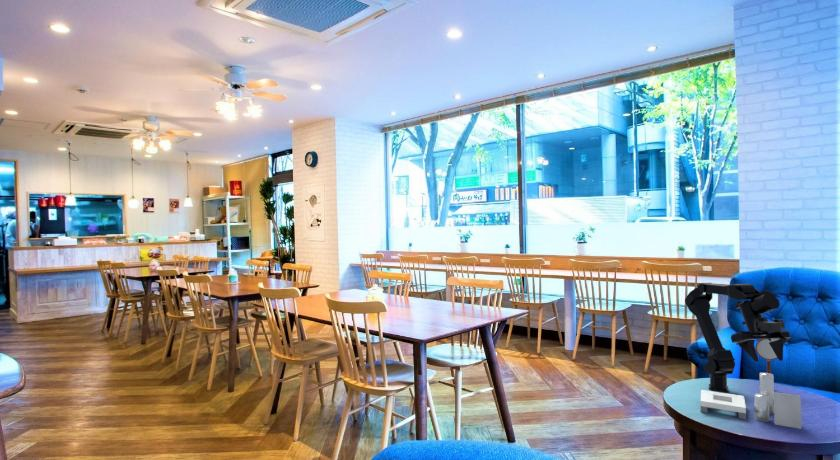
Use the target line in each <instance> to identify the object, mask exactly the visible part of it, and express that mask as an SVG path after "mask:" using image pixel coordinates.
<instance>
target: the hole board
mask: <svg viewBox="0 0 840 460" xmlns="http://www.w3.org/2000/svg"><path fill="white" fill-rule="evenodd" d="M708 408H709V409H716V410H717V409H718V410H723V411H724V410H725V411H729V412H734V413H735V412H736V413H737V415H738V419H741V420H747V406H746V401H745V396H744V395H739V394H733V393H728V392H727V393H726V392H721V391H714V390H705V389H701V390H700V413H708V411H709V410H708Z"/></svg>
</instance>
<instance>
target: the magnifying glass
mask: <svg viewBox="0 0 840 460" xmlns="http://www.w3.org/2000/svg"><path fill="white" fill-rule="evenodd" d="M769 342H772V341H769V340H768V339H758V341H757V342H755V343H756V344H755V345H754V347H755V350H756V353H757V356H759V357H760V358H762V359H764V360H766V373H770V374H772V373H771V372H772V371H771V369H772V368H771V365H772V364H771V361H774V360H777V359H778V358H777V356H776V355H775V353H774V351H773V349H772V348H771V346H770V344H769Z"/></svg>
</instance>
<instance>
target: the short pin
mask: <svg viewBox="0 0 840 460" xmlns="http://www.w3.org/2000/svg"><path fill="white" fill-rule="evenodd" d="M753 395H754V398H753V399H754V419H755V420H756V421H758V422H763V423H769V422H770V414H769V396H768V395H765V394H760V393H759V392H757V393H754V394H753Z"/></svg>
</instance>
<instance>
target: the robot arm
mask: <svg viewBox="0 0 840 460" xmlns="http://www.w3.org/2000/svg"><path fill="white" fill-rule="evenodd" d="M713 294H715V295H723V296H727V297H729V298H730V299H733V300H736V301H737V302H736V304H735V305H734V309H736V310H737V309H740V312H741V315H742V318H743V322H742V323H741V324H742V325H743V326H745V327H746V328H747V331H746V330H745V331H738V332H736V333H732V334H731V336H730V340H731V343H732V344H736V346H739V347H740V348H741V349H742V350H743V351H744V352H745V353H746V354H747V355H748V356H749V357H750V358H751V359H752V360H753V361H754V362H756V363H758V362H759V361H760V360H759V357H758V356H759V355H758V354H757V352H756V349H755V343H756V342H755V341H756V340H761V339H768V340H769V341H772V342H769V344H770V346H771V348H772V349H773V351H774V353H775V355H776V356H777V359H778V360H779V362H782V361H783V360H784V344H785V343H786V342H787V341H788V340H789V339H791V334H790V332H789V331H788V330H786V329H785V328H786V326H785V323H784V320H783V318H782V319H781V318H780V319H778V318H776V319H773V321H769V320H768V318H766V317H763V314H765V313H768V312H771V311H773V310H776V309H778V308H779V307H780V305H781V303H780V300H779V298H778V297H777V296H775V295H774V294H773V293H771V292H770V290H761V291H760V290H758V289H757V288H756V287H755V286H754V285H753V284H751V283H734V284H733V283H732V284H723V283H712V282H701V283H699V284H698V285H697V286H696V288H694V289H693V290H691V291H689V293H688V294H687V295H686V297H685V299H684V303H685V305H686V307H687V308H688V311H689V312H690V313H692V314H693V315H694V316H695V317H696V320H697V323H698V325H699V328H700V330H701V333H702V334H703V335H702V336H703V338H704V340H705V342H706V346H707V348H708V352H707V361H708V362H707V363H705V364H704V365H703V371H704V373H707V374H709V383H708V389H709V390H710V391H717V392H724V393H726V392H727V393H729V386H728V375H733V373H734V369H735V368H736V367H735V366H736V362H735V361H736V358H735V357H734V355H733V351H731V349H726V348H725V347H723V344H722V342H721V339H720V337H719V334H718V332H717V330H716V326H715V324H714V322H713V320H712V317H711V314H710V309H711V303H710V302H711V301H712V300H713ZM784 329H785V330H784Z"/></svg>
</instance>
